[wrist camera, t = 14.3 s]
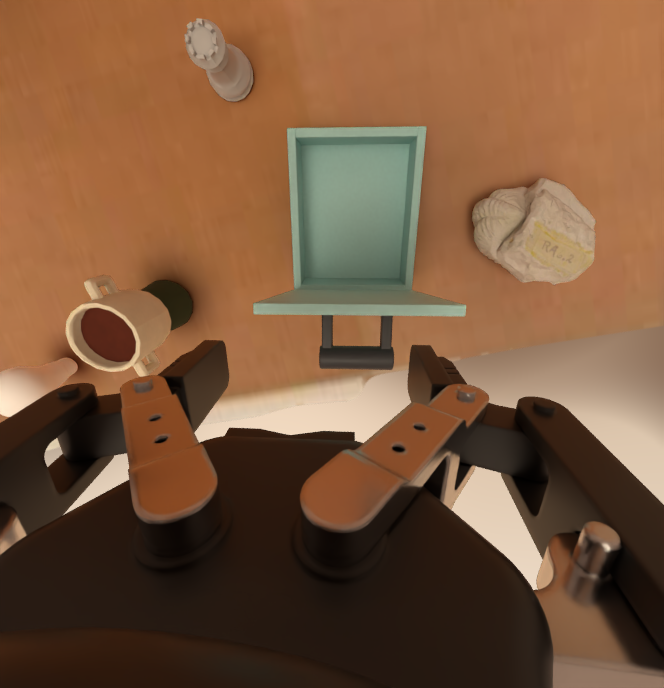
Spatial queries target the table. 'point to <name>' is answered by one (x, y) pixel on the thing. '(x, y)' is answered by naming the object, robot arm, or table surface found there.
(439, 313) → the green hinged lid
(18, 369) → the lightbulb
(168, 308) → the character mug
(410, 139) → the storage box
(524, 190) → the fossil replica
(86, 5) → the table surface
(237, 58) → the rook chess piece
